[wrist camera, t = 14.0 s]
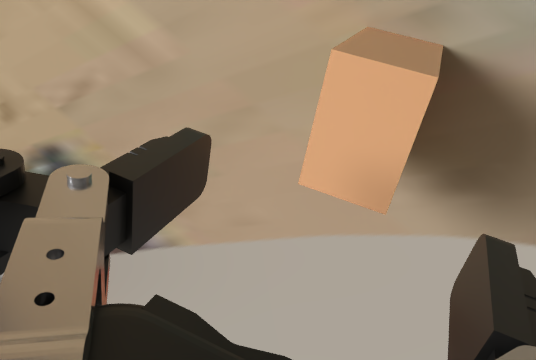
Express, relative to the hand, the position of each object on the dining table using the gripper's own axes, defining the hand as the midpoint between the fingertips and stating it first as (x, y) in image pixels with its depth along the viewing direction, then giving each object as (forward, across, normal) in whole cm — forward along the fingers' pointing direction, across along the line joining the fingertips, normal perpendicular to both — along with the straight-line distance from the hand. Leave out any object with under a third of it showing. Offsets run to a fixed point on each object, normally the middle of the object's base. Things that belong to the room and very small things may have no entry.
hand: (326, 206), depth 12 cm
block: (+14, 0, 0) cm, 14 cm away
